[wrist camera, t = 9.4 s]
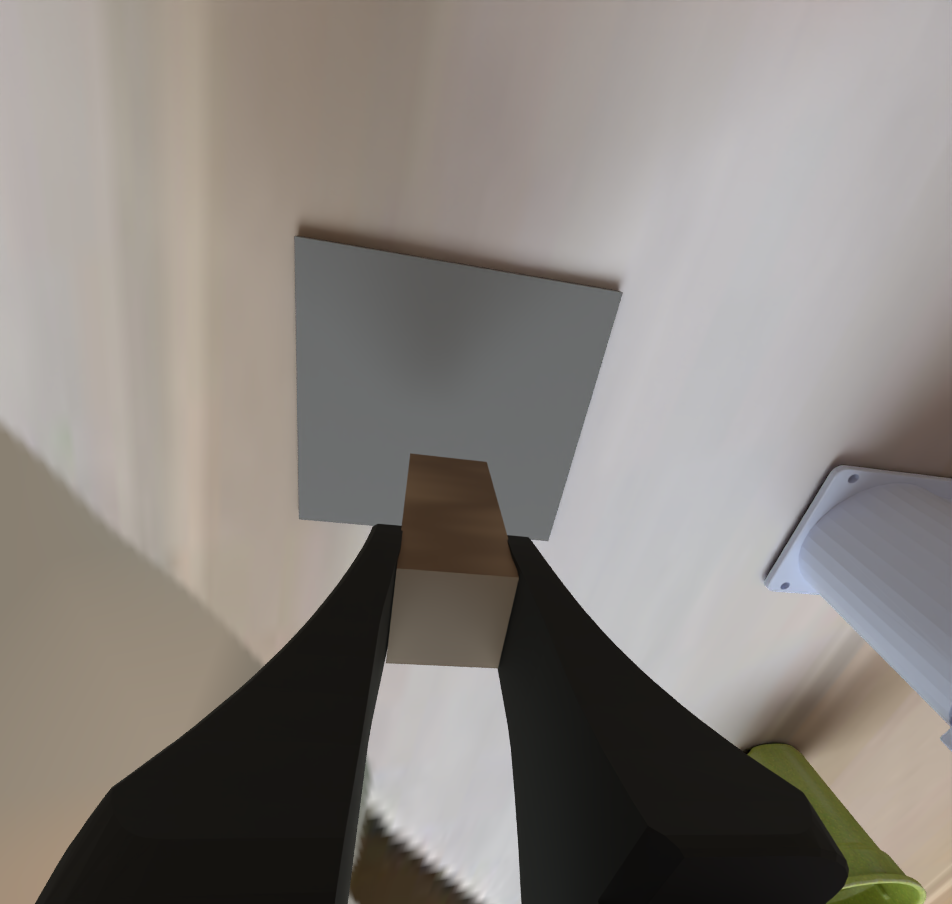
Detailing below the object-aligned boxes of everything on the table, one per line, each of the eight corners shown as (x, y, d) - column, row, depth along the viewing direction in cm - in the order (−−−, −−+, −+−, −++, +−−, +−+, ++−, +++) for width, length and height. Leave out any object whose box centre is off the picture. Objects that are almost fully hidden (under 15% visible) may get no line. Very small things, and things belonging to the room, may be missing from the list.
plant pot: (687, 800, 37) (751, 953, 30) (714, 732, 33) (798, 891, 25) (796, 790, 38) (886, 938, 30) (837, 722, 33) (956, 875, 26)
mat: (619, 290, 18) (622, 292, 17) (546, 536, 23) (548, 540, 23) (297, 235, 16) (294, 236, 16) (301, 514, 21) (299, 519, 21)
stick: (486, 462, 15) (519, 577, 9) (474, 527, 16) (497, 668, 10) (410, 453, 15) (396, 568, 9) (402, 521, 15) (385, 663, 10)
